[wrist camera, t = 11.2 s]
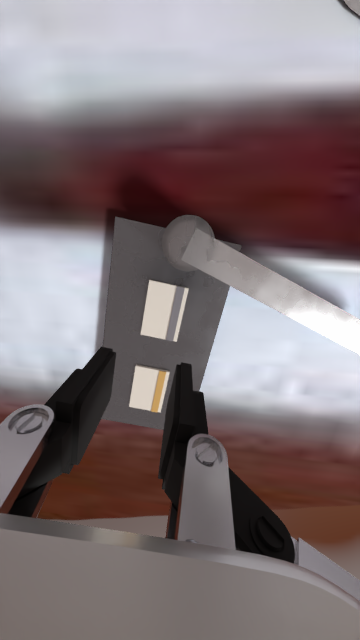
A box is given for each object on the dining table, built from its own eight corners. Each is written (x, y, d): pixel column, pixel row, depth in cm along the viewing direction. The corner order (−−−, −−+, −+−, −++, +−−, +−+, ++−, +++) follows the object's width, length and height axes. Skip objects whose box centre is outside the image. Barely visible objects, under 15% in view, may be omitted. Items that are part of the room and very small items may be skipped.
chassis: (119, 218, 20) (115, 216, 19) (238, 245, 21) (241, 245, 20) (99, 410, 28) (96, 417, 27) (186, 426, 29) (186, 433, 28)
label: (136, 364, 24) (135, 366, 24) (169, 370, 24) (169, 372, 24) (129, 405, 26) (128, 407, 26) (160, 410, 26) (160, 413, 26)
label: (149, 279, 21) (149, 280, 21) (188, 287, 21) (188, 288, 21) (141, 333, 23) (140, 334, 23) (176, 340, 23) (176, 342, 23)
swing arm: (159, 254, 20) (153, 256, 16) (178, 212, 19) (176, 204, 15) (356, 358, 23) (389, 379, 19) (383, 327, 22) (425, 345, 18)
